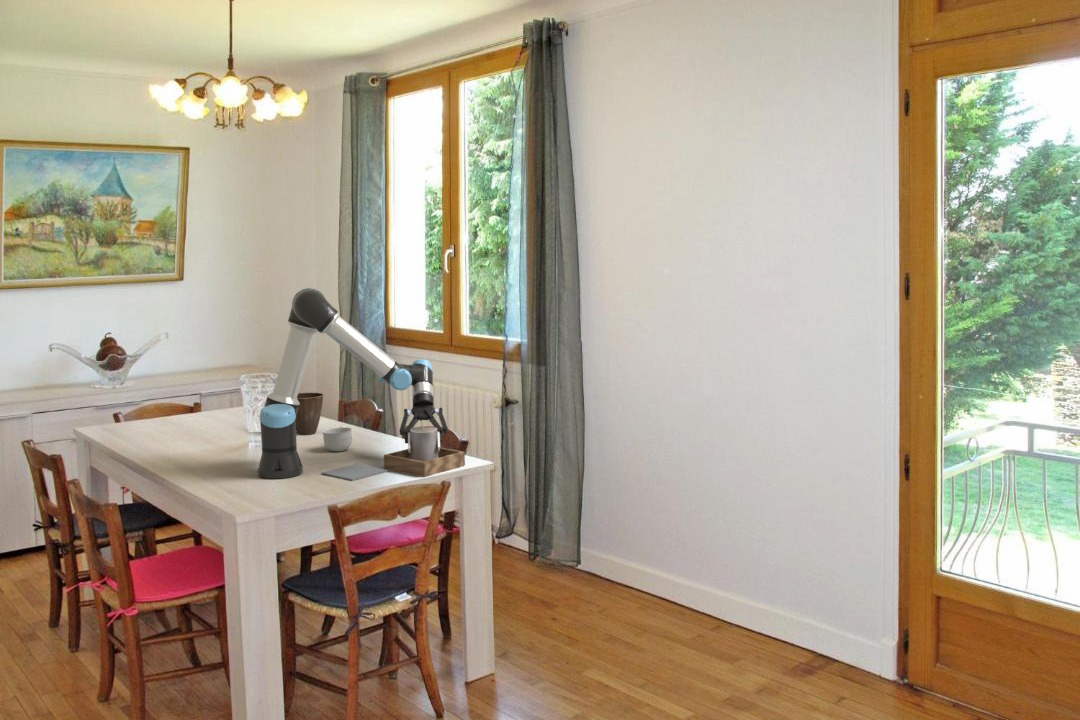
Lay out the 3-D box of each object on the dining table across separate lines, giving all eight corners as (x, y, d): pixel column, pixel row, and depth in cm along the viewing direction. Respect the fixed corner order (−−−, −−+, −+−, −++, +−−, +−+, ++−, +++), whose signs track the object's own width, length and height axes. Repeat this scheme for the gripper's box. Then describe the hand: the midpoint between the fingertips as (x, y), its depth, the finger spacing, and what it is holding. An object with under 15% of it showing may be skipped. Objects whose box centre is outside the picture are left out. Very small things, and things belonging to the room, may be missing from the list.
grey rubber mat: (352, 480, 332) (352, 479, 332) (321, 474, 342) (321, 472, 342) (387, 471, 345) (387, 469, 345) (356, 465, 355) (356, 463, 355)
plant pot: (280, 434, 411) (278, 396, 409) (308, 428, 423) (306, 391, 421) (304, 438, 402) (303, 399, 400) (332, 432, 414) (330, 394, 412)
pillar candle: (419, 463, 357) (417, 422, 355) (443, 465, 353) (442, 423, 351) (406, 469, 348) (404, 427, 346) (430, 471, 344) (428, 429, 342)
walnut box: (424, 477, 337) (424, 462, 336) (384, 468, 349) (383, 454, 348) (465, 465, 352) (464, 451, 351) (424, 458, 364) (424, 444, 364)
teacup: (345, 453, 374) (344, 432, 373) (318, 452, 376) (317, 431, 375) (359, 445, 387) (358, 425, 386) (333, 444, 390) (332, 424, 388)
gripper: (453, 402, 364) (456, 454, 351) (392, 404, 362) (392, 456, 348) (453, 390, 358) (456, 442, 345) (391, 392, 356) (391, 445, 342)
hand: (424, 449), depth 346 cm, fingers closed on pillar candle, 10 cm apart
